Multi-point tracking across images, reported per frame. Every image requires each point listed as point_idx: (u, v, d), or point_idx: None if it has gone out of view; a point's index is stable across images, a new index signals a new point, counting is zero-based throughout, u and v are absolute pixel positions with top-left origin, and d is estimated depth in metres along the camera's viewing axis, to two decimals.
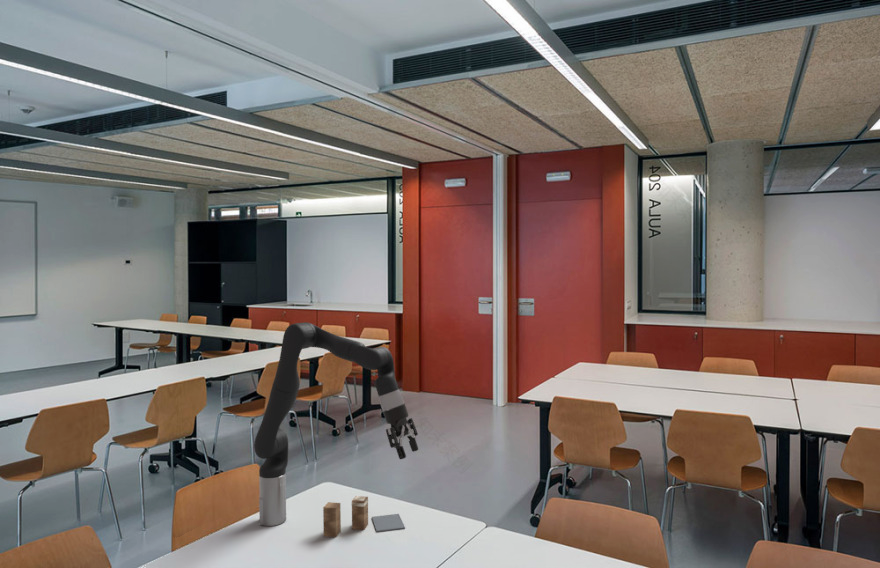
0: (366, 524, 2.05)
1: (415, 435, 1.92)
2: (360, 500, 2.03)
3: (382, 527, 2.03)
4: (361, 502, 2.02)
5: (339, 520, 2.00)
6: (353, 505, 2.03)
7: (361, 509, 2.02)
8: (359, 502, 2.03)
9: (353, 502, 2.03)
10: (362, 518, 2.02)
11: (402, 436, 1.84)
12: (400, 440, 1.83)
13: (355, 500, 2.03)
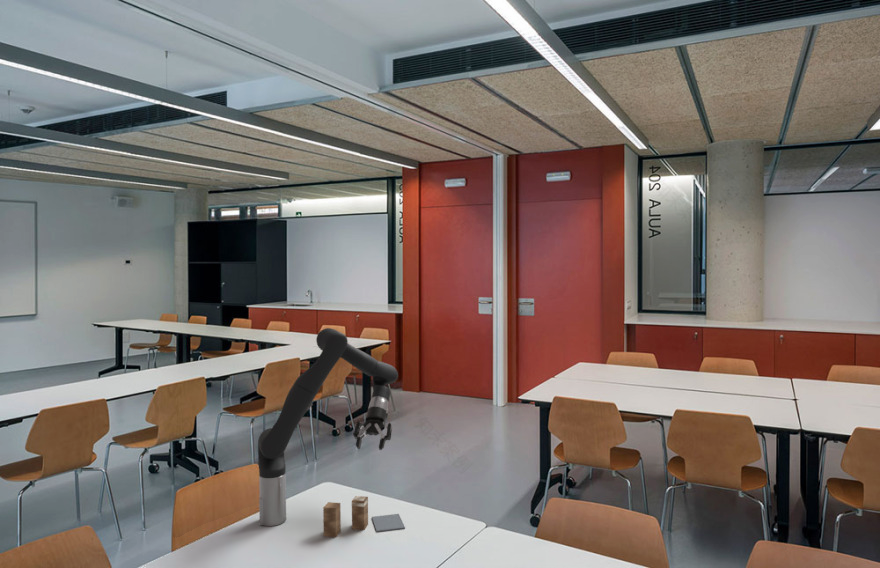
0: (366, 524, 2.05)
1: None
2: (360, 500, 2.03)
3: (382, 527, 2.03)
4: (361, 502, 2.02)
5: (339, 520, 2.00)
6: (353, 505, 2.03)
7: (361, 509, 2.02)
8: (359, 502, 2.03)
9: (353, 502, 2.03)
10: (362, 518, 2.02)
11: None
12: None
13: (355, 500, 2.03)
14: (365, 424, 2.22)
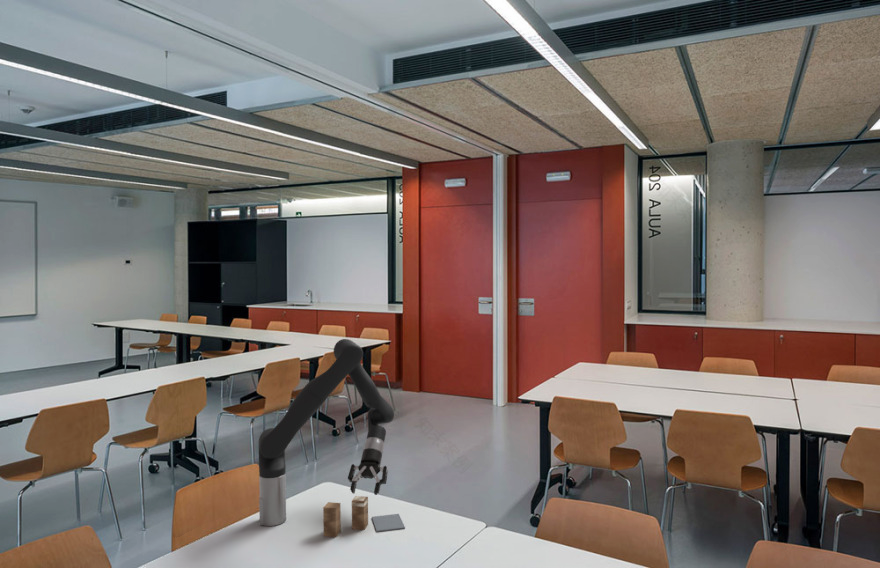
0: (366, 524, 2.05)
1: None
2: (360, 500, 2.03)
3: (382, 527, 2.03)
4: (361, 502, 2.02)
5: (339, 520, 2.00)
6: (353, 505, 2.03)
7: (361, 509, 2.02)
8: (359, 502, 2.03)
9: (353, 502, 2.03)
10: (362, 518, 2.02)
11: None
12: None
13: (355, 500, 2.03)
14: (360, 467, 2.16)
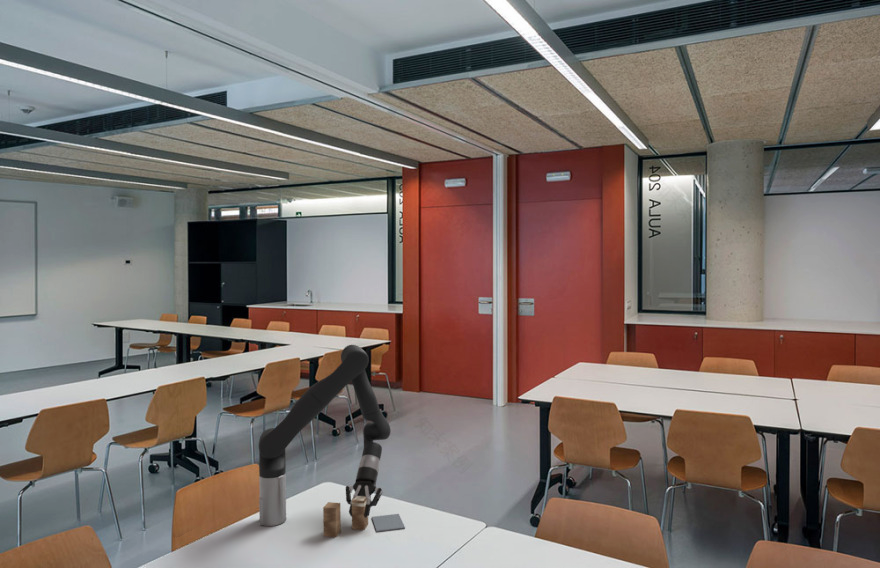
0: (366, 524, 2.05)
1: None
2: (360, 500, 2.03)
3: (382, 527, 2.03)
4: (361, 502, 2.02)
5: (339, 520, 2.00)
6: (353, 505, 2.03)
7: (361, 508, 2.02)
8: (359, 502, 2.03)
9: (353, 502, 2.03)
10: (362, 518, 2.02)
11: None
12: None
13: (355, 500, 2.03)
14: (354, 488, 2.09)
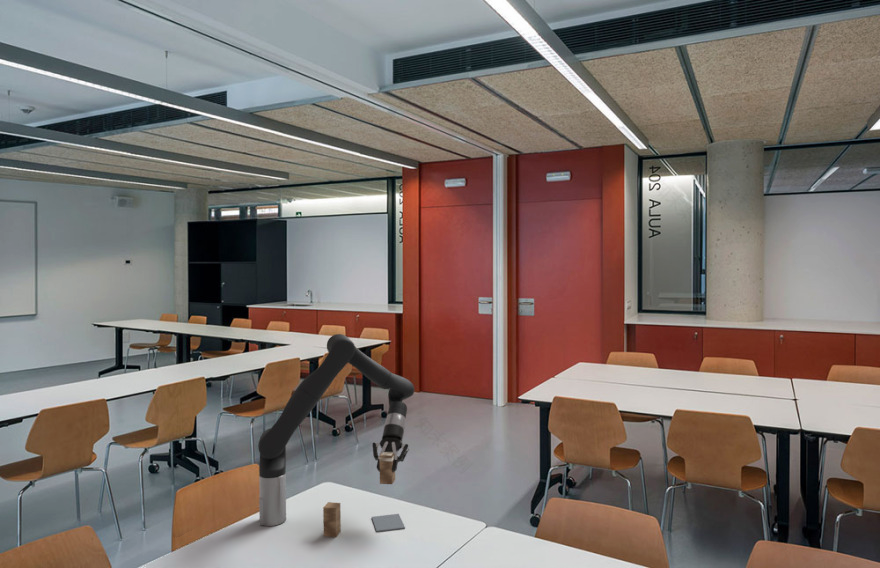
0: (393, 479, 2.07)
1: None
2: (388, 455, 2.05)
3: (382, 527, 2.03)
4: (389, 457, 2.05)
5: (339, 520, 2.00)
6: (381, 460, 2.05)
7: (389, 463, 2.05)
8: (387, 457, 2.05)
9: (381, 457, 2.05)
10: (390, 473, 2.05)
11: None
12: None
13: (383, 455, 2.06)
14: (381, 444, 2.12)
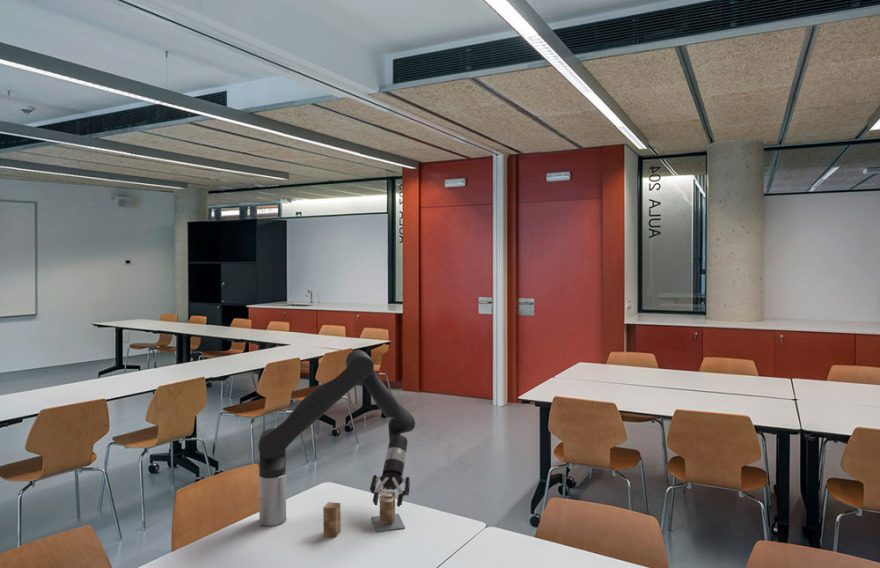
0: (393, 519, 2.07)
1: (373, 492, 2.11)
2: (388, 495, 2.06)
3: (382, 527, 2.03)
4: (389, 497, 2.05)
5: (339, 520, 2.00)
6: (381, 500, 2.06)
7: (389, 504, 2.05)
8: (387, 497, 2.05)
9: (381, 497, 2.06)
10: (390, 514, 2.05)
11: None
12: None
13: (383, 495, 2.06)
14: (382, 478, 2.12)
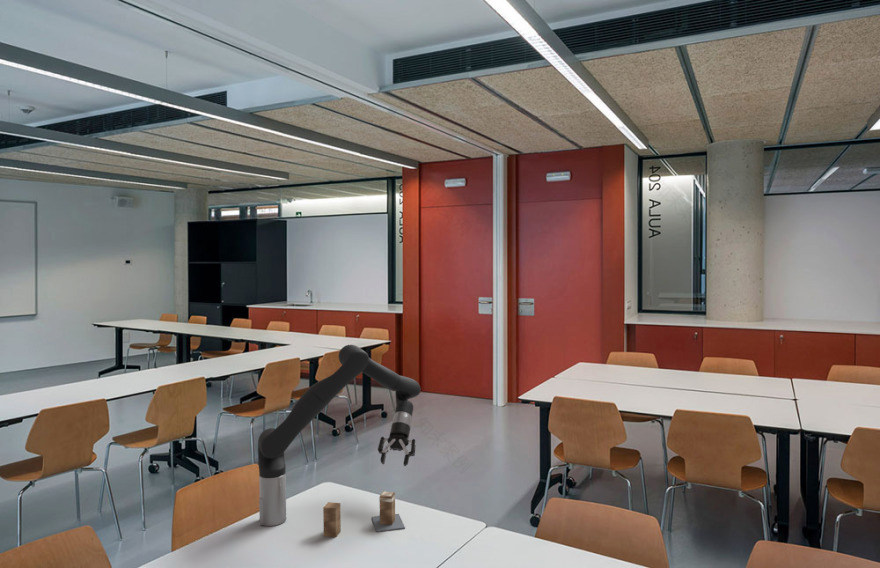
0: (393, 519, 2.07)
1: (380, 452, 2.24)
2: (388, 495, 2.06)
3: (382, 527, 2.03)
4: (389, 497, 2.05)
5: (339, 520, 2.00)
6: (381, 500, 2.06)
7: (389, 504, 2.05)
8: (387, 497, 2.05)
9: (381, 497, 2.06)
10: (390, 514, 2.05)
11: None
12: None
13: (383, 495, 2.06)
14: (389, 439, 2.25)
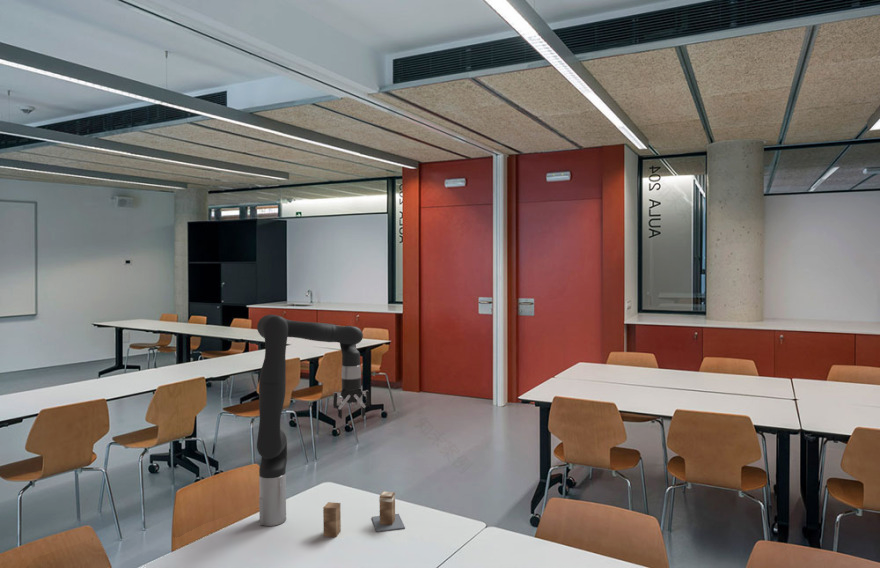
0: (393, 519, 2.07)
1: None
2: (388, 495, 2.06)
3: (382, 527, 2.03)
4: (389, 497, 2.05)
5: (339, 520, 2.00)
6: (381, 500, 2.06)
7: (389, 504, 2.05)
8: (387, 497, 2.05)
9: (381, 497, 2.06)
10: (390, 514, 2.05)
11: None
12: None
13: (383, 495, 2.06)
14: (343, 394, 2.26)
